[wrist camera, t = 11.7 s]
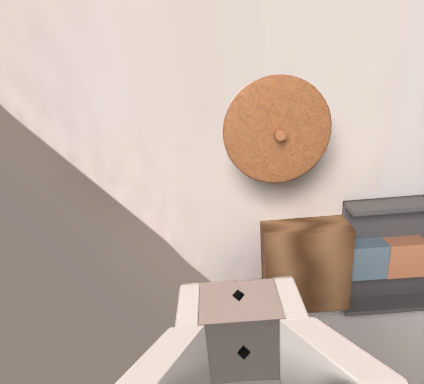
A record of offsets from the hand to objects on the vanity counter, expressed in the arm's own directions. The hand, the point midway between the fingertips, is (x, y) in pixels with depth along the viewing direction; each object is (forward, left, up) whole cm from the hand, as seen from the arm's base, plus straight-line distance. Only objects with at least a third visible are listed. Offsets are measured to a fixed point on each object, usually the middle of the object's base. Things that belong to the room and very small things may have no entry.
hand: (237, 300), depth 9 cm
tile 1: (-24, +21, -30) cm, 43 cm away
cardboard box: (-11, +20, -33) cm, 40 cm away
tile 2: (-19, +20, -32) cm, 43 cm away
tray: (-23, +20, -33) cm, 45 cm away
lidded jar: (-6, +1, -33) cm, 34 cm away
